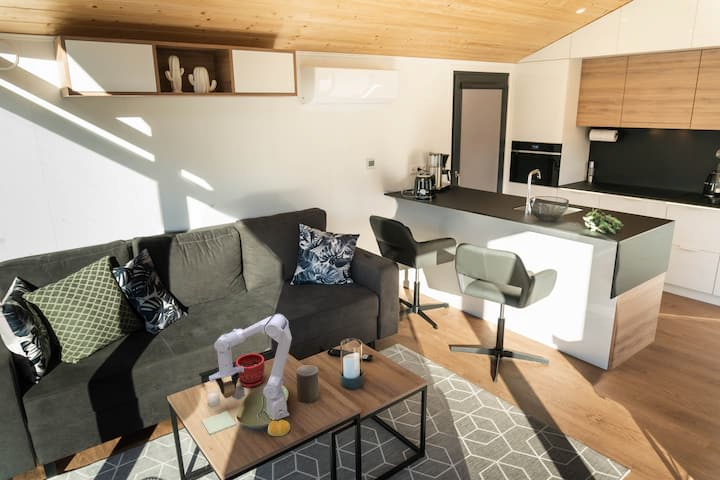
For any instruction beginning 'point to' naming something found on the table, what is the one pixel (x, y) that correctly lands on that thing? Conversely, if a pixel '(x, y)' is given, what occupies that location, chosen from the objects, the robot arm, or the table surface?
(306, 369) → the pillar candle
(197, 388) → the table surface
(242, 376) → the plant pot
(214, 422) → the plate
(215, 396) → the white rounded dome
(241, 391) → the grey metal block
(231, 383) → the walnut block
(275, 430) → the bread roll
